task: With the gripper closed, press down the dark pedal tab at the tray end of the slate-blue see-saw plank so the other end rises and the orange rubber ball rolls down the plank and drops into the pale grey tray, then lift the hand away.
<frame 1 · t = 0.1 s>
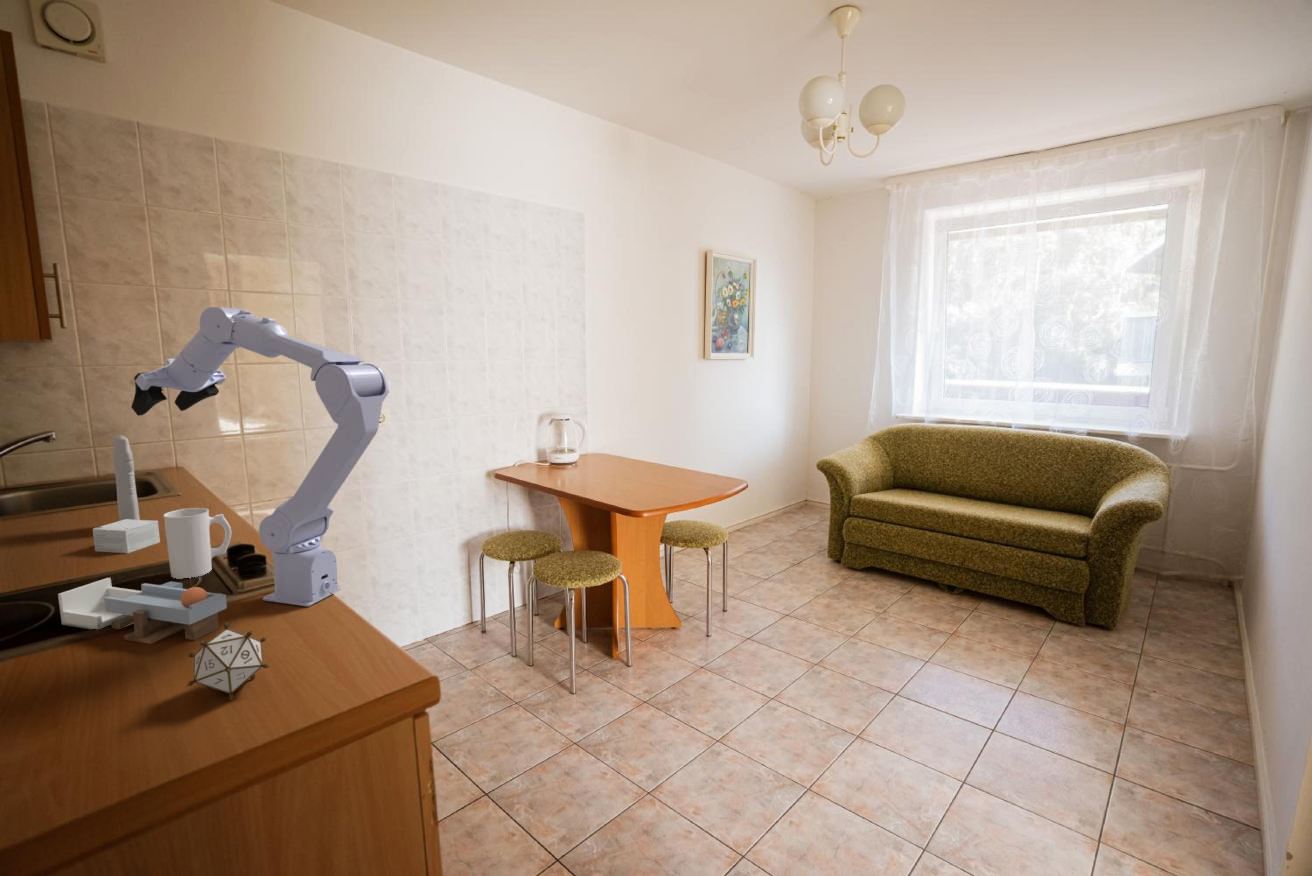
hand: (158, 408, 109), 32 cm above the worktop, tool tilted 50°, fingers open, 7 cm apart
game die: (231, 691, 78), on the worktop
ball: (195, 607, 92), point 4 cm above the worktop, touching lever
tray: (105, 618, 97), on the worktop
tall pale column: (130, 528, 143), on the worktop
small box: (128, 548, 130), on the worktop
lever: (178, 596, 95), point 4 cm above the worktop, hinge at 0.0°, touching ball
mug: (202, 572, 117), on the worktop
fulcrum: (168, 628, 94), on the worktop
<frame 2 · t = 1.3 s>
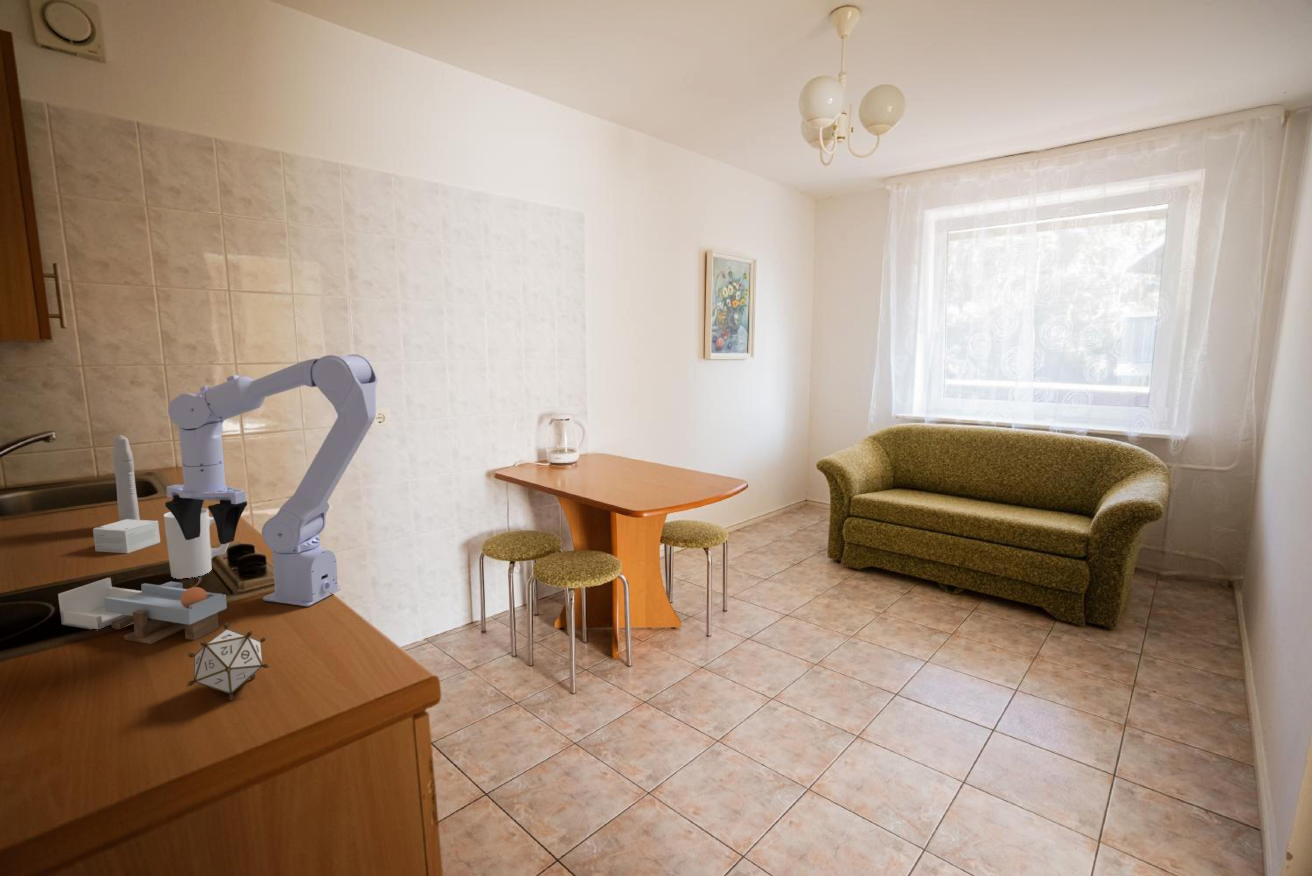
hand: (209, 540, 105), 10 cm above the worktop, tool pointing down, fingers open, 7 cm apart
nothing on the worktop moved.
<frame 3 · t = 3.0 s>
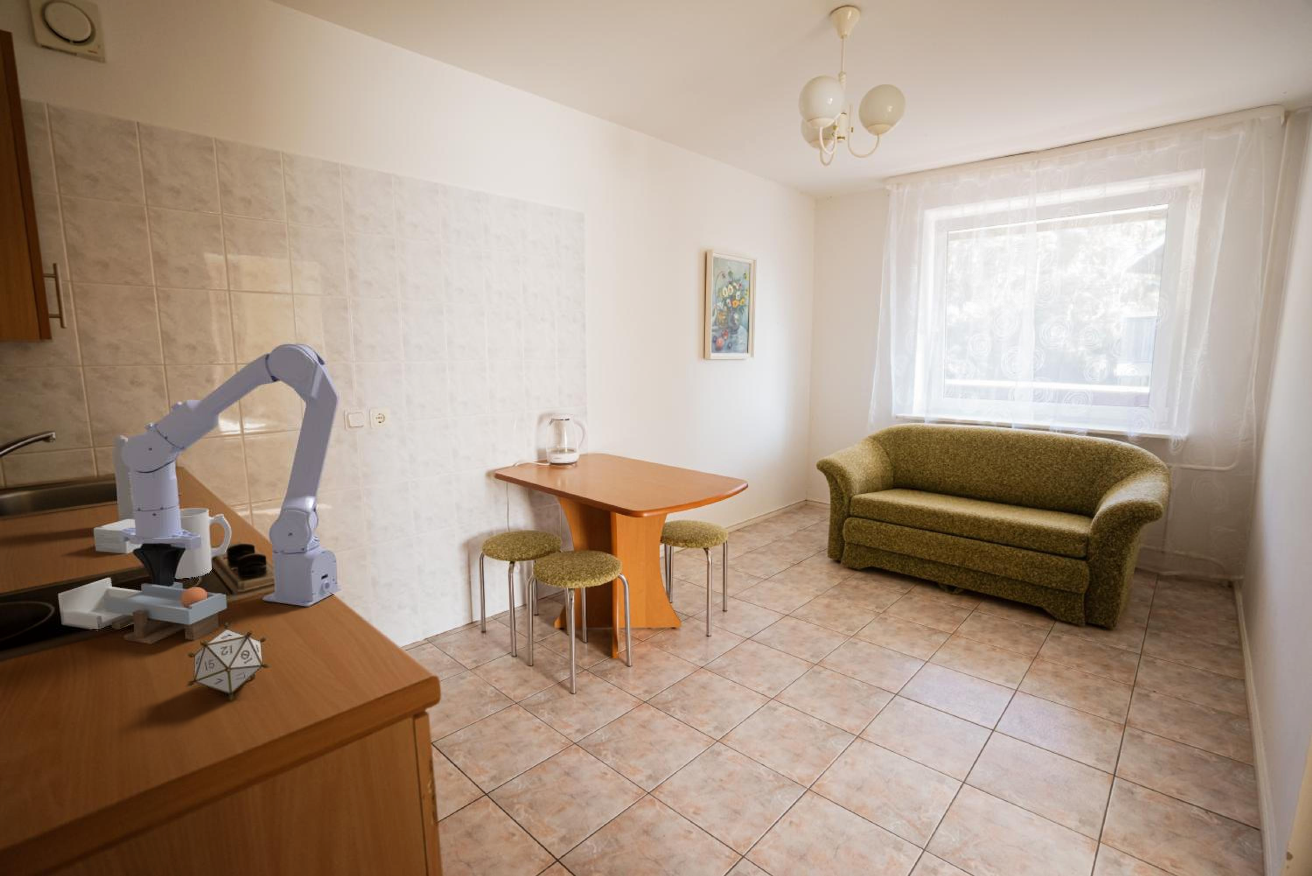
hand: (164, 586, 100), 4 cm above the worktop, tool pointing down, fingers closed, pressing on lever
lever: (178, 596, 95), point 4 cm above the worktop, hinge at 0.0°, touching ball, gripper
everything else where it was.
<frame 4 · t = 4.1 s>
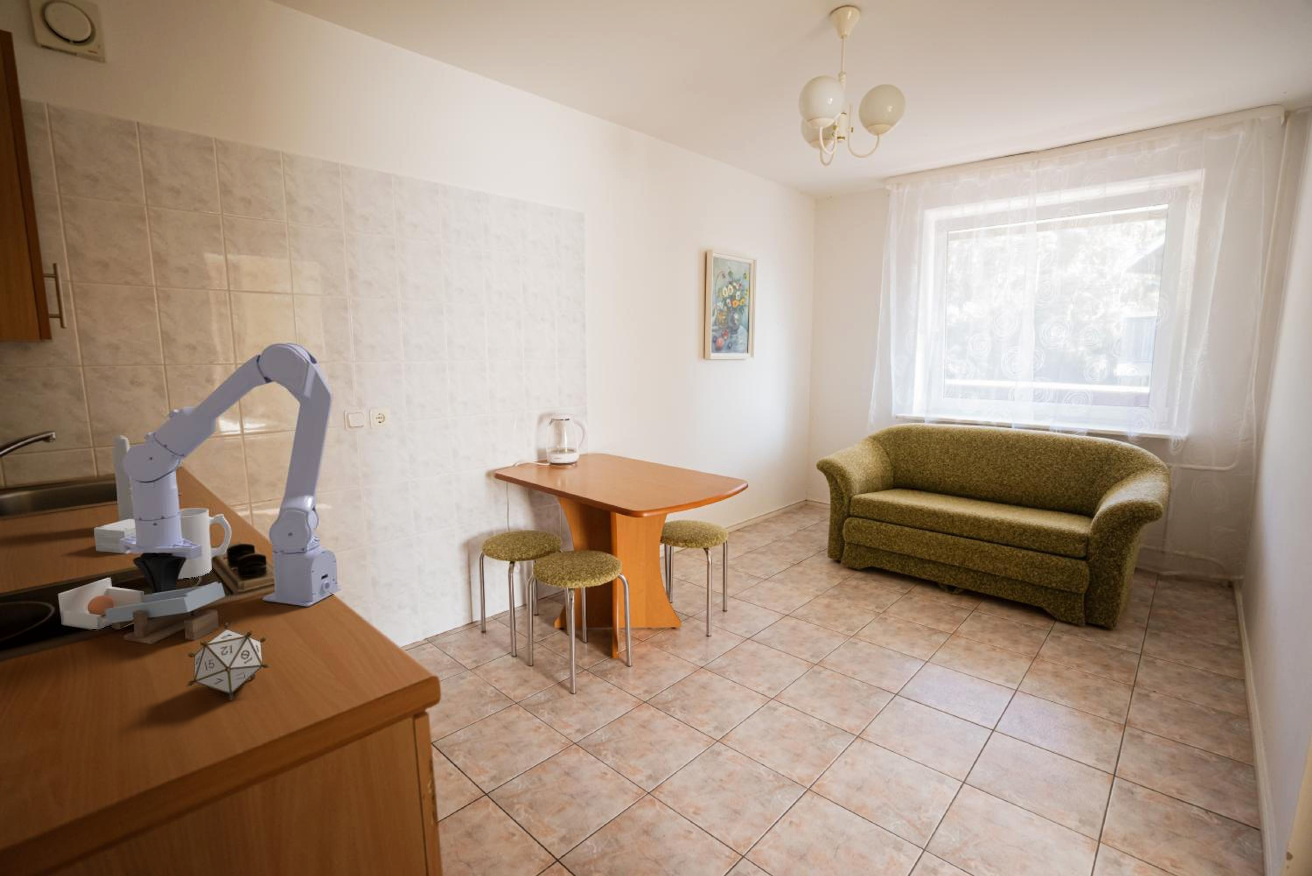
hand: (164, 595, 100), 2 cm above the worktop, tool pointing down, fingers closed
ball: (108, 610, 96), point 1 cm above the worktop, tilted 69°, touching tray
lever: (177, 596, 95), point 4 cm above the worktop, hinge at 13.9°, touching fulcrum, gripper
everything else where it was.
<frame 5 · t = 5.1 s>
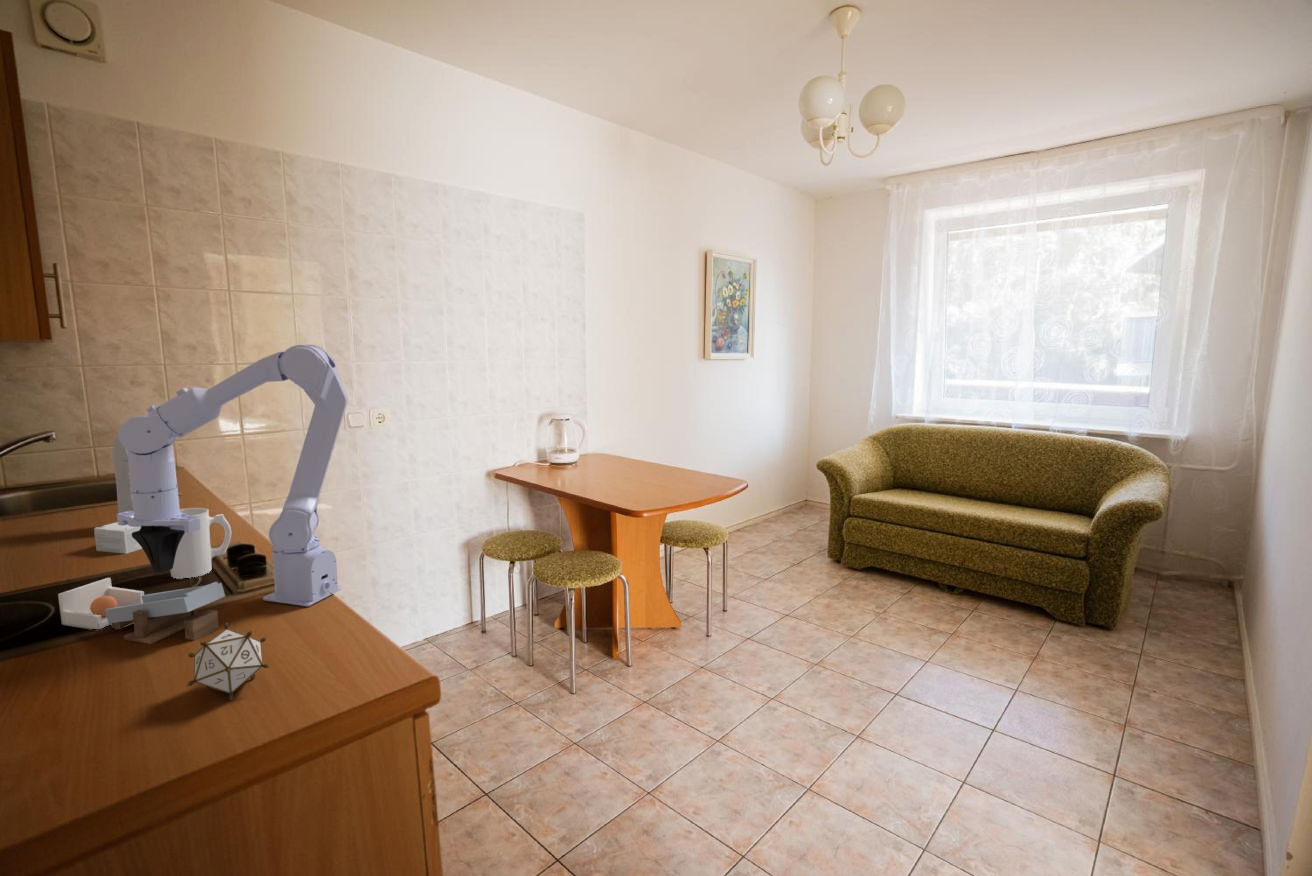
hand: (163, 570, 99), 7 cm above the worktop, tool pointing down, fingers closed
ball: (110, 613, 96), point 1 cm above the worktop, tilted 49°, touching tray
lever: (177, 596, 95), point 4 cm above the worktop, hinge at 13.9°, touching fulcrum
everything else where it was.
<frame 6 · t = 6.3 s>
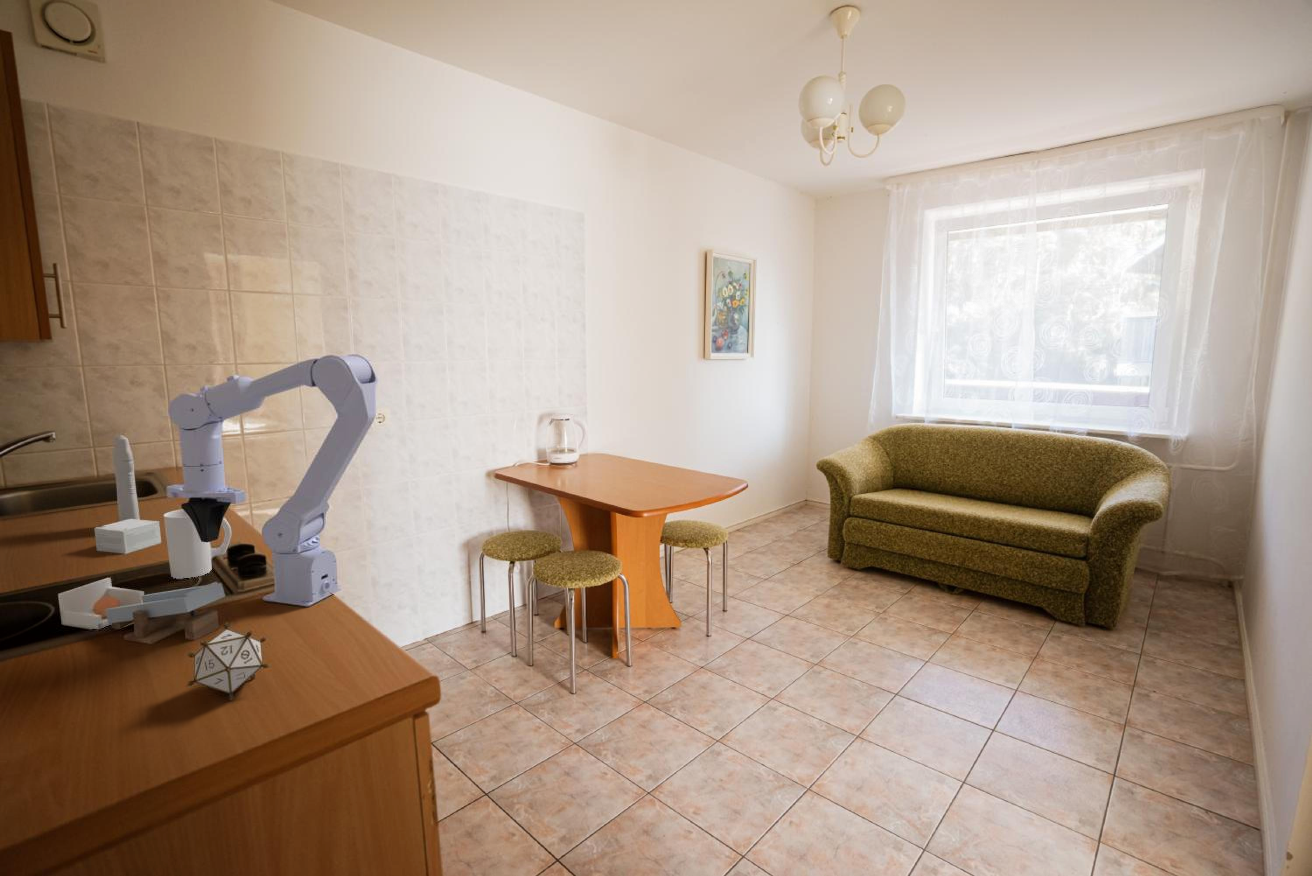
hand: (209, 540, 105), 10 cm above the worktop, tool pointing down, fingers closed
ball: (111, 615, 96), point 1 cm above the worktop, tilted 26°, touching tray
everything else where it was.
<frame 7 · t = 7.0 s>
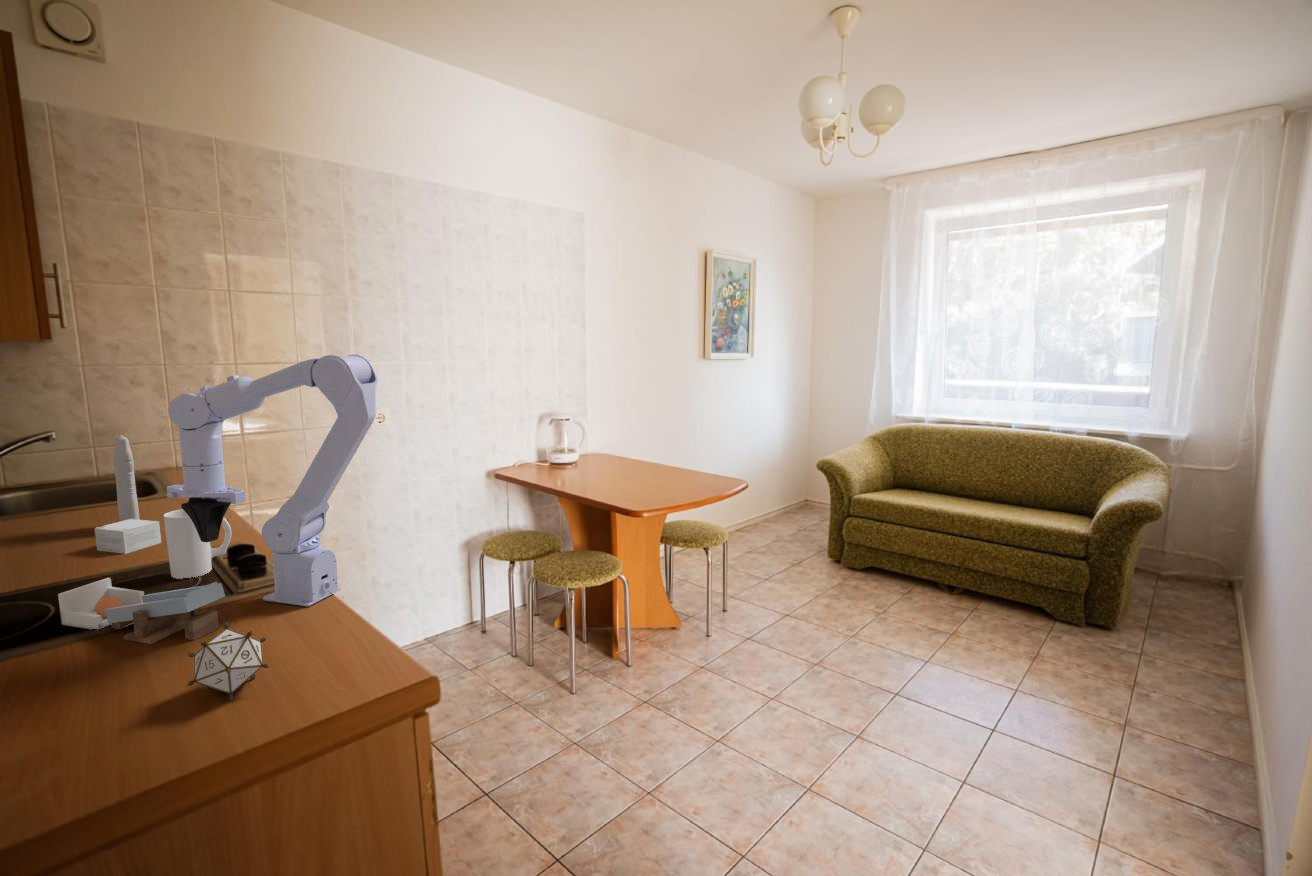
hand: (209, 540, 105), 10 cm above the worktop, tool pointing down, fingers closed
ball: (111, 616, 97), resting on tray, tilted 12°
everything else where it was.
at the end: ball 1.4 cm off-centre on the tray, point 0.4 cm above the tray's base; lever tilted 14° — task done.
